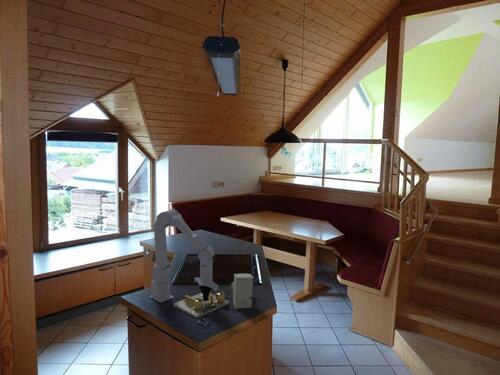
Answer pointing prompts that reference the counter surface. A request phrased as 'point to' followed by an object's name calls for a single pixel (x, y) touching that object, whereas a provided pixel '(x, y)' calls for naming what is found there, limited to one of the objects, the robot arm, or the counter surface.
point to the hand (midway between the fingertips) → (205, 300)
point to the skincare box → (243, 290)
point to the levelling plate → (207, 306)
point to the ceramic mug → (232, 289)
